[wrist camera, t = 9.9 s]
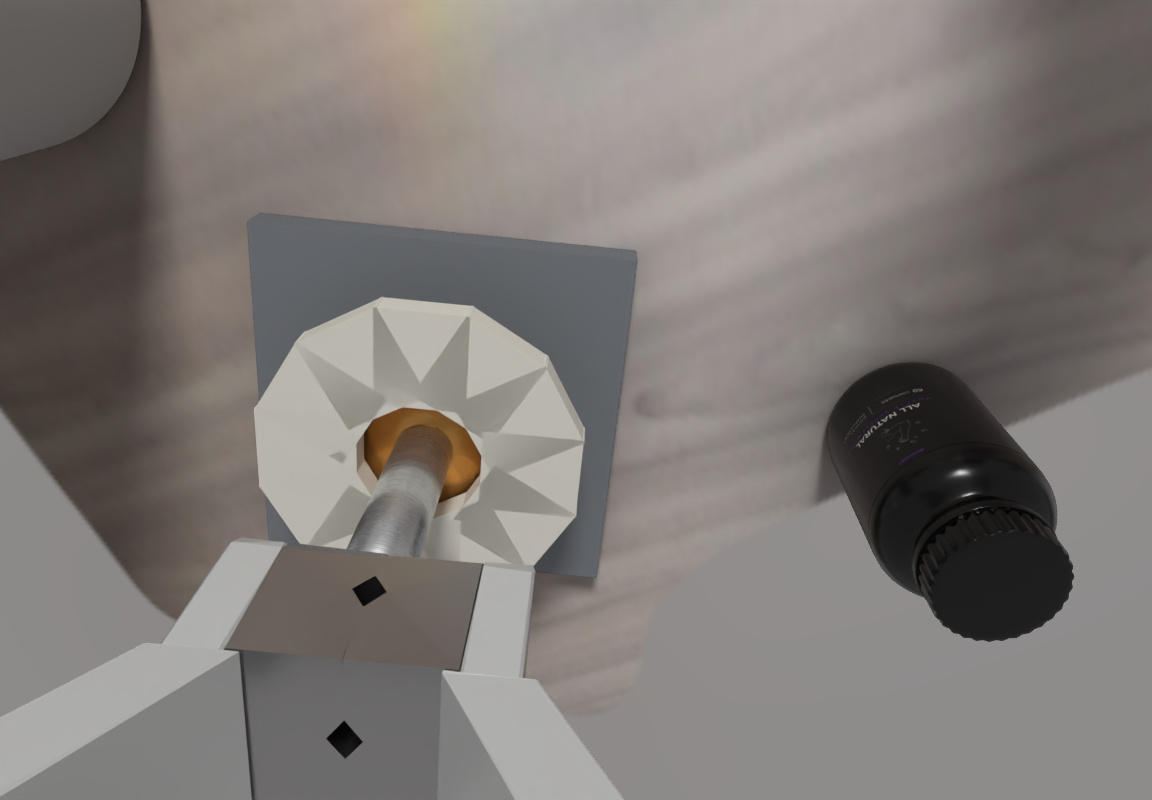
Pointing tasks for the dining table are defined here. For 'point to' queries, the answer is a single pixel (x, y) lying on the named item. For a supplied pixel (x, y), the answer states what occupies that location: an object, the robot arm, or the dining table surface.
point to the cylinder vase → (61, 67)
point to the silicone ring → (433, 382)
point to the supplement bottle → (950, 501)
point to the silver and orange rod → (412, 478)
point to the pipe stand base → (474, 278)
